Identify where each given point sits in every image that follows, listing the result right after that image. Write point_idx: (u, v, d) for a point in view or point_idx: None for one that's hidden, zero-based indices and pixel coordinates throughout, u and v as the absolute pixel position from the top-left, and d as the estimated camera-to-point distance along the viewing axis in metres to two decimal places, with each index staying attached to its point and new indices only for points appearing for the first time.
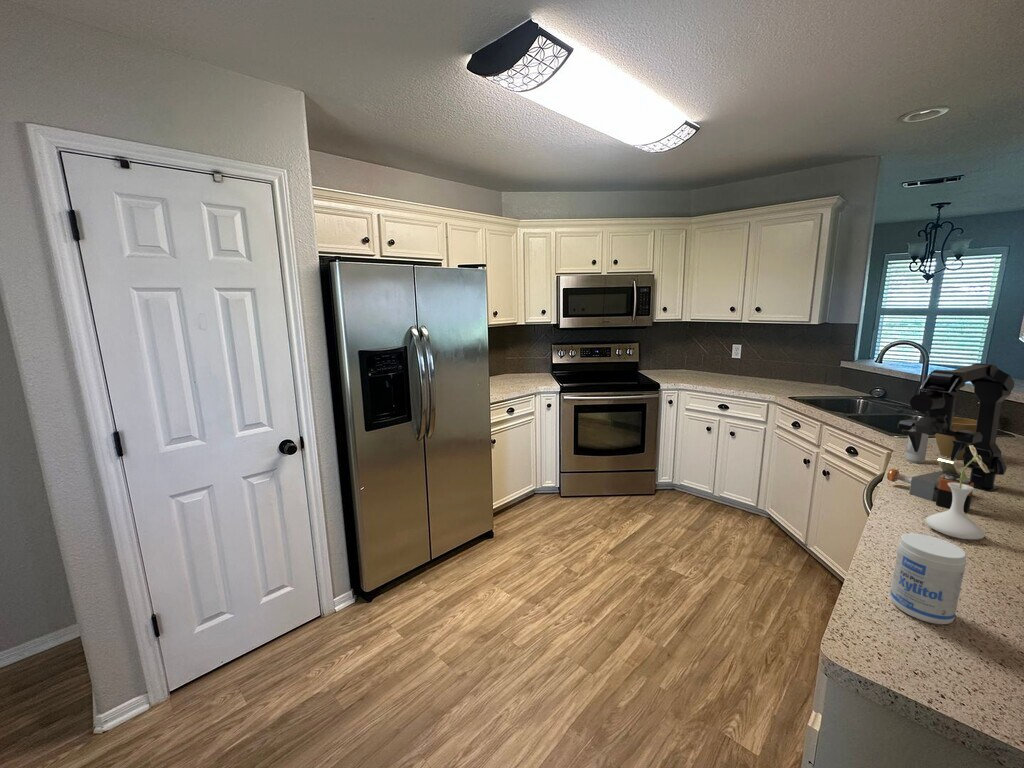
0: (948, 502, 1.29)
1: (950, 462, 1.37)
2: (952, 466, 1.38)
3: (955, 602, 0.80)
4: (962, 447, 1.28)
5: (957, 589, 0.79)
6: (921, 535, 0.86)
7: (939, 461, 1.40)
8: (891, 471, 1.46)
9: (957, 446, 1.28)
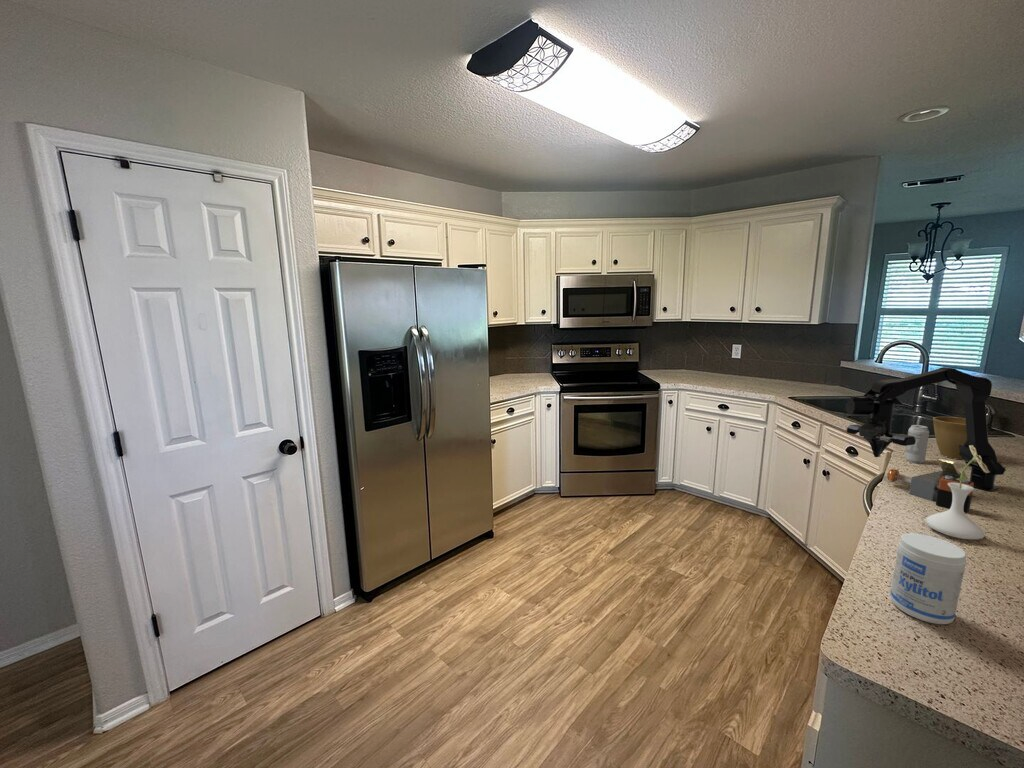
0: (948, 502, 1.29)
1: (950, 462, 1.37)
2: (952, 466, 1.38)
3: (955, 602, 0.80)
4: (884, 445, 1.49)
5: (957, 589, 0.79)
6: (921, 535, 0.86)
7: (939, 461, 1.40)
8: (891, 471, 1.46)
9: (880, 445, 1.48)
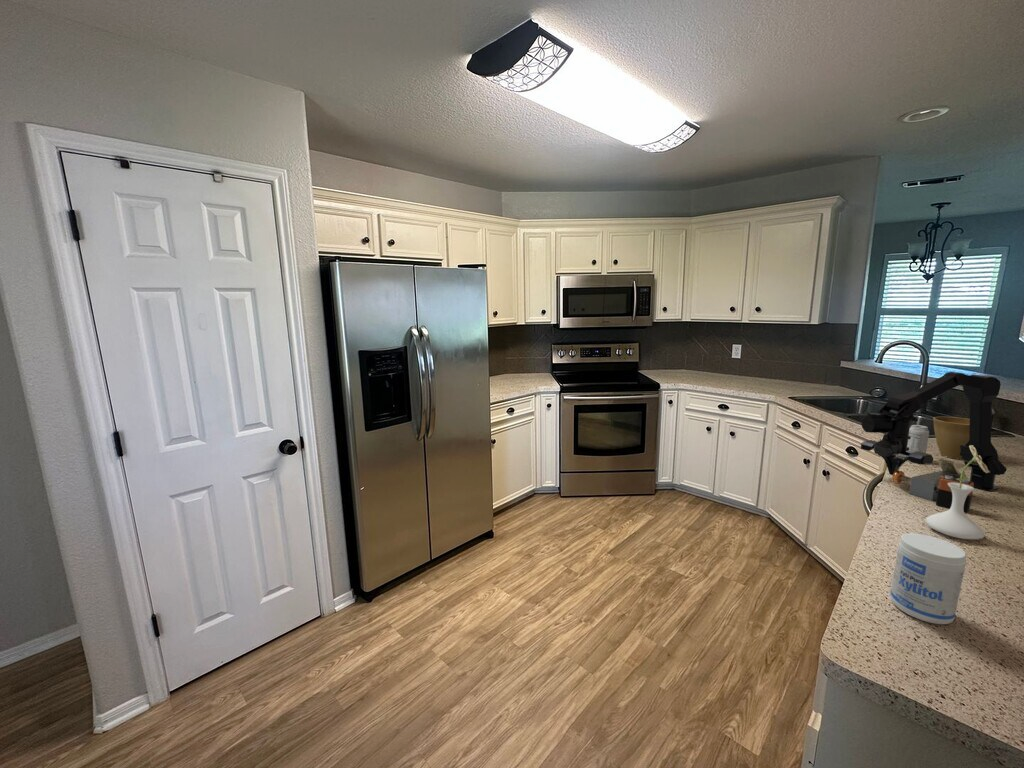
0: (948, 502, 1.29)
1: (950, 462, 1.37)
2: (952, 466, 1.38)
3: (955, 602, 0.80)
4: (900, 463, 1.45)
5: (957, 589, 0.79)
6: (921, 535, 0.86)
7: (939, 461, 1.40)
8: (896, 473, 1.44)
9: (895, 462, 1.44)
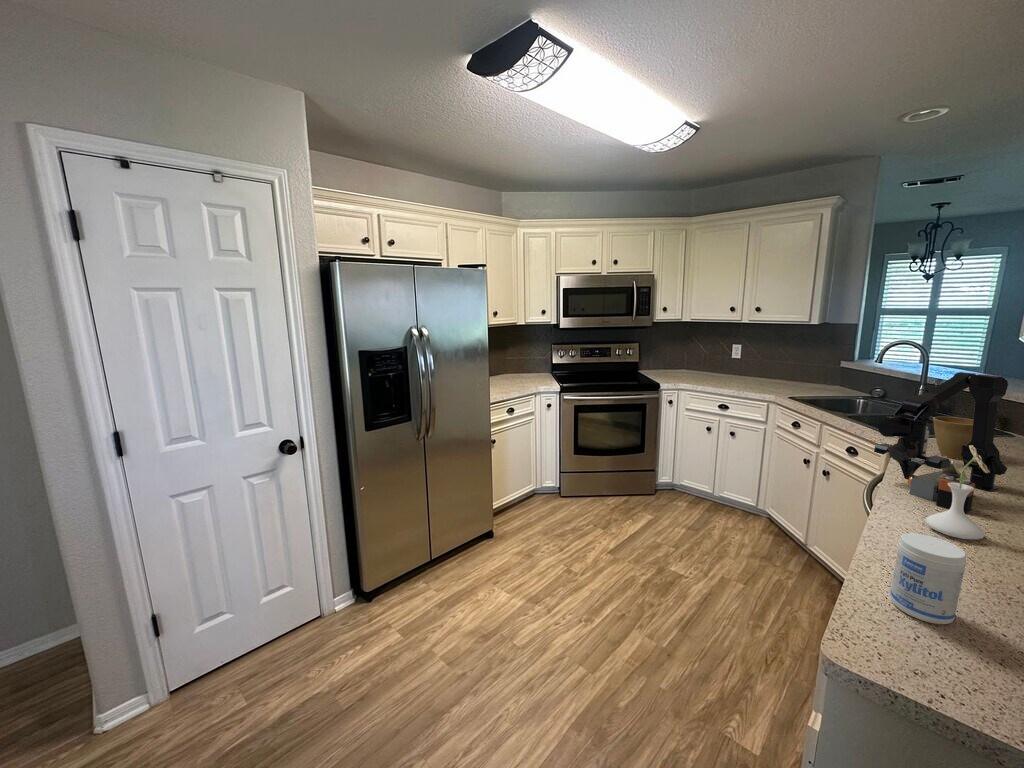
0: (947, 502, 1.28)
1: None
2: (952, 466, 1.38)
3: (955, 602, 0.80)
4: (916, 467, 1.41)
5: (957, 589, 0.79)
6: (921, 535, 0.86)
7: None
8: None
9: (911, 466, 1.40)
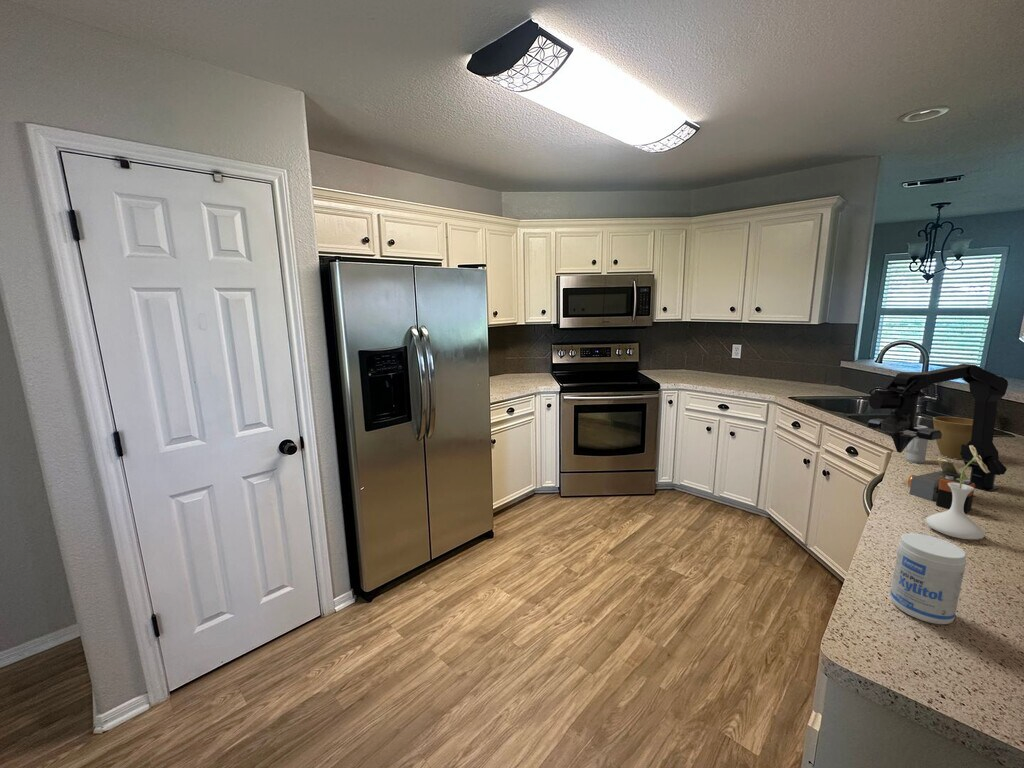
0: (947, 502, 1.28)
1: (950, 462, 1.37)
2: (952, 466, 1.38)
3: (955, 602, 0.80)
4: (908, 440, 1.43)
5: (957, 589, 0.79)
6: (921, 535, 0.86)
7: (939, 461, 1.40)
8: None
9: (903, 439, 1.42)
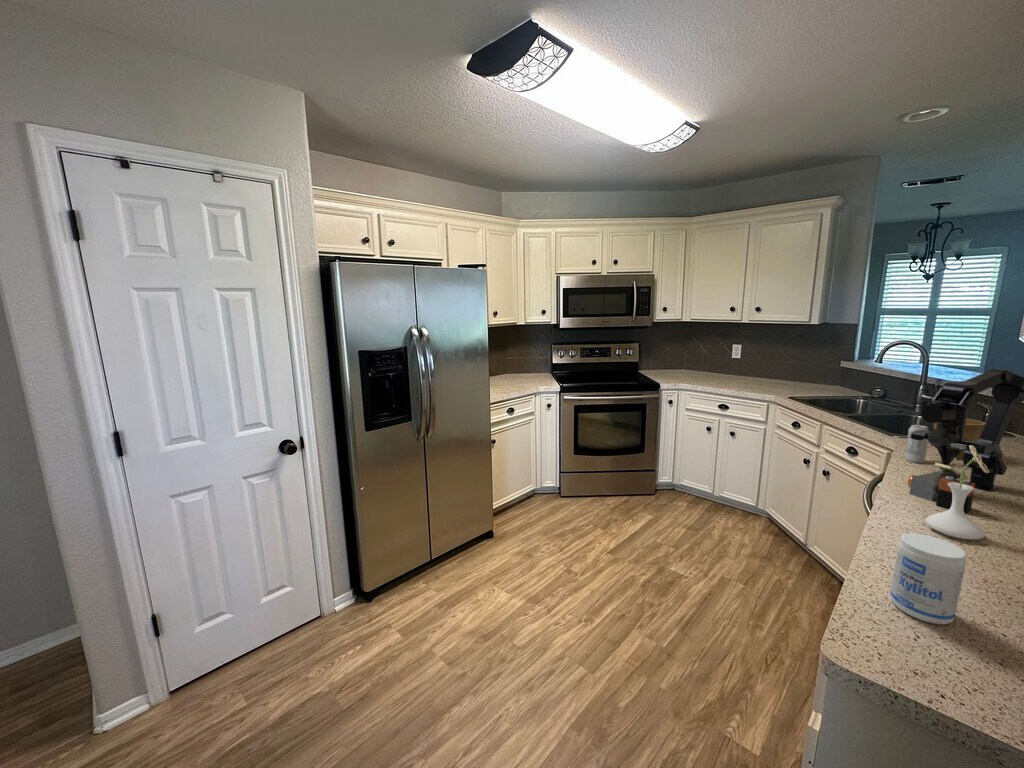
0: (947, 502, 1.28)
1: (947, 467, 1.37)
2: (950, 470, 1.38)
3: (955, 602, 0.80)
4: (956, 453, 1.37)
5: (957, 589, 0.79)
6: (921, 535, 0.86)
7: (937, 465, 1.40)
8: None
9: (951, 452, 1.36)
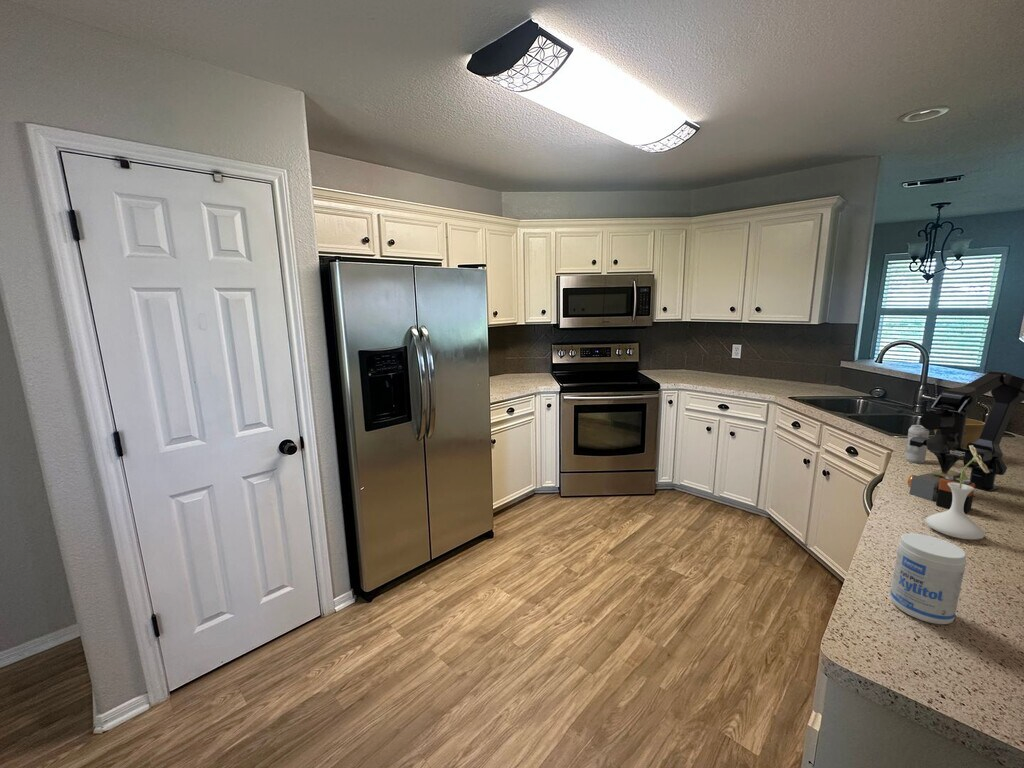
0: (947, 502, 1.28)
1: (945, 476, 1.38)
2: None
3: (955, 602, 0.80)
4: (954, 460, 1.38)
5: (957, 589, 0.79)
6: (921, 535, 0.86)
7: (934, 473, 1.40)
8: None
9: (949, 459, 1.37)
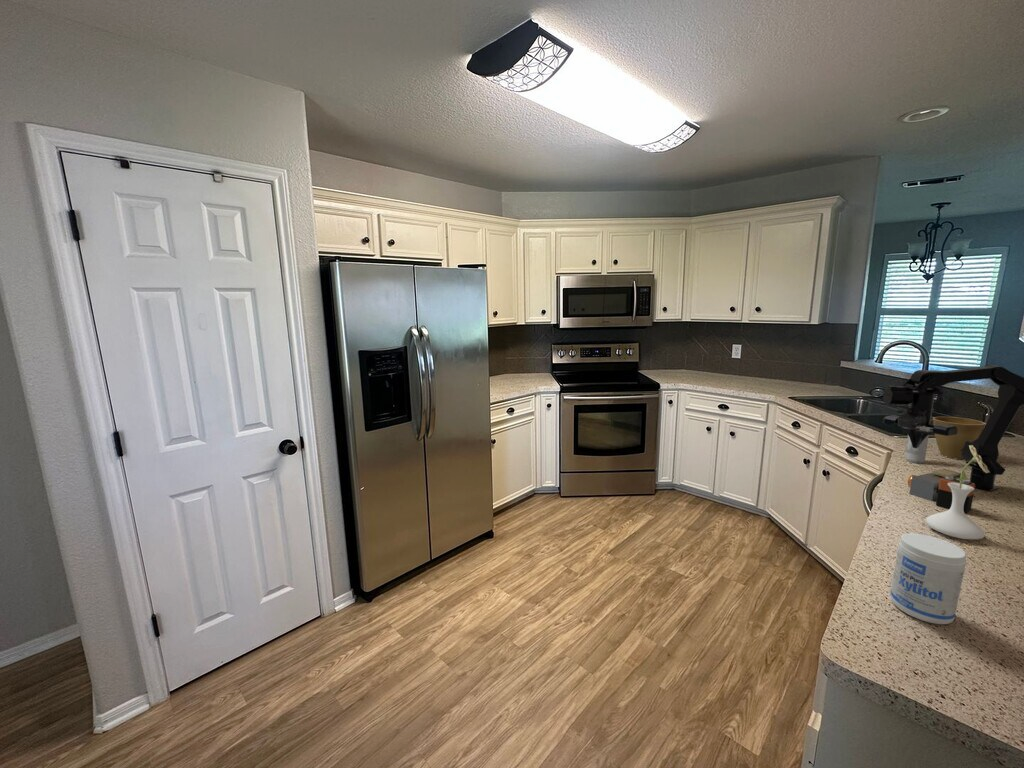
0: (947, 502, 1.28)
1: (945, 476, 1.38)
2: None
3: (955, 602, 0.80)
4: (924, 436, 1.47)
5: (957, 589, 0.79)
6: (921, 535, 0.86)
7: (934, 473, 1.40)
8: None
9: (919, 435, 1.46)
